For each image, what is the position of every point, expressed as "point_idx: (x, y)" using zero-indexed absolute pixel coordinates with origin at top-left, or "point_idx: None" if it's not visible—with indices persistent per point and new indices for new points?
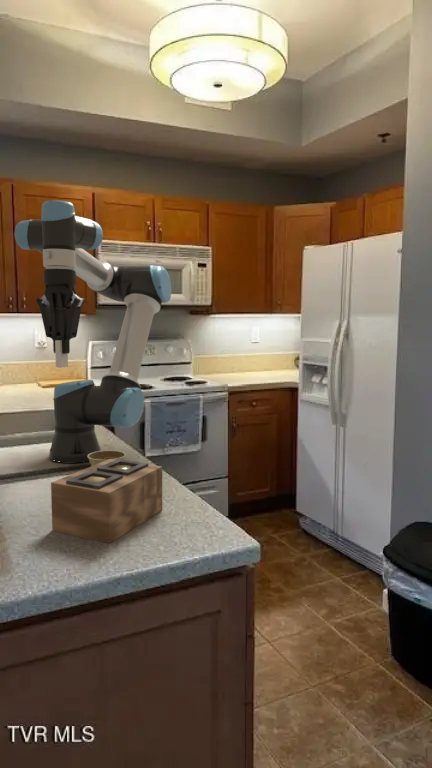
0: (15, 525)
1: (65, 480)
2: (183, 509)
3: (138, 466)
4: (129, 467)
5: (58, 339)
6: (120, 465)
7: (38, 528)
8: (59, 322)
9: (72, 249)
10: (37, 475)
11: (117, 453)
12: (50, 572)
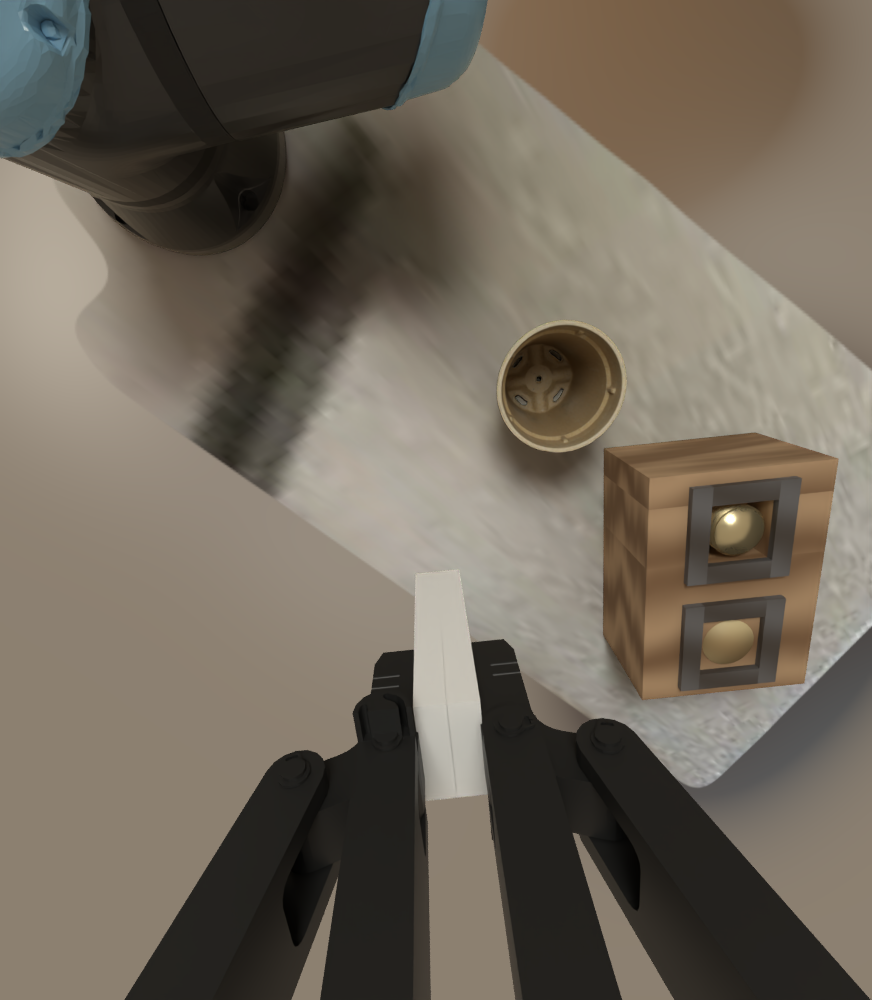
0: (521, 652)
1: (661, 674)
2: (802, 401)
3: (788, 517)
4: (755, 520)
5: (424, 770)
6: (721, 520)
7: (571, 640)
8: (418, 969)
9: None
10: (275, 399)
11: (561, 326)
12: (707, 730)
